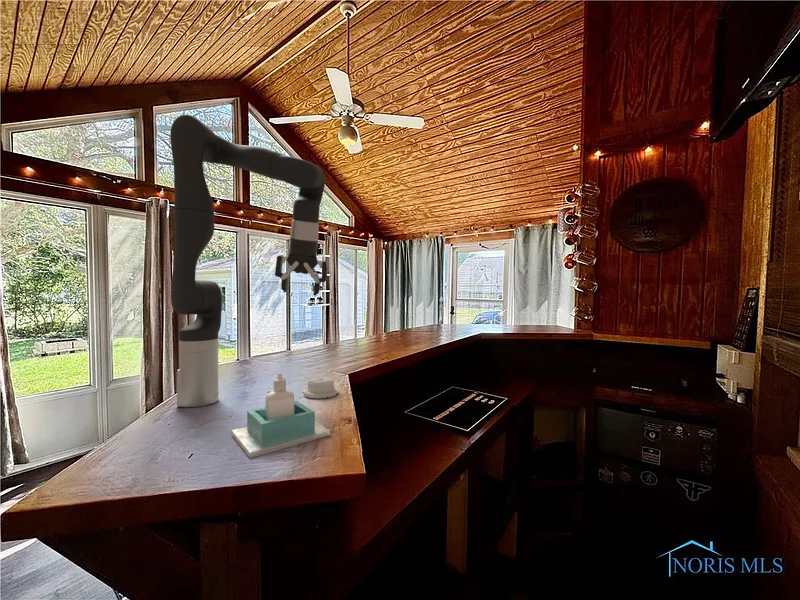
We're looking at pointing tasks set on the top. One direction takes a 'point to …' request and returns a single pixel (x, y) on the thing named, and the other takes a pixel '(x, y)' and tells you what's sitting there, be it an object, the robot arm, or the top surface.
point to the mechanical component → (320, 388)
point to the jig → (278, 431)
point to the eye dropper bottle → (279, 400)
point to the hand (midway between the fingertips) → (300, 293)
